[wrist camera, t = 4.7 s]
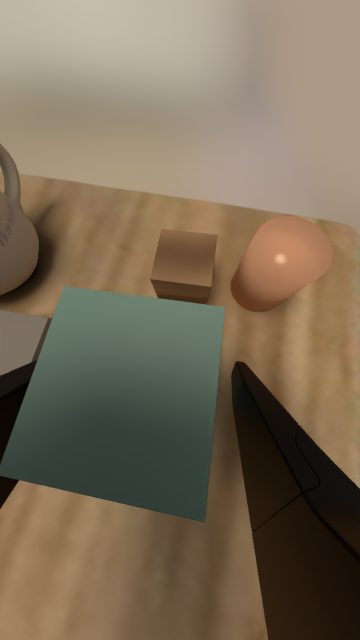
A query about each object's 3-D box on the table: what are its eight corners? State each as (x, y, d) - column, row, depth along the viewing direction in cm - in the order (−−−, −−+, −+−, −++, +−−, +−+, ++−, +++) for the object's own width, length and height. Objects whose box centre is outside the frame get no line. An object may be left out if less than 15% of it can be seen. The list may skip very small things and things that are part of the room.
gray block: (62, 382, 15) (21, 388, 12) (12, 372, 16) (-44, 374, 12) (80, 329, 17) (48, 318, 13) (33, 320, 17) (-12, 307, 13)
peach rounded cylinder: (292, 286, 17) (348, 245, 11) (261, 322, 16) (303, 298, 10) (251, 256, 18) (283, 204, 12) (220, 289, 17) (237, 249, 11)
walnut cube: (204, 307, 17) (211, 286, 12) (159, 301, 17) (150, 279, 13) (210, 266, 18) (217, 234, 14) (167, 261, 18) (161, 229, 14)
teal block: (190, 398, 15) (204, 522, 3) (144, 390, 15) (-4, 474, 3) (196, 350, 16) (225, 307, 4) (153, 344, 16) (63, 286, 4)
